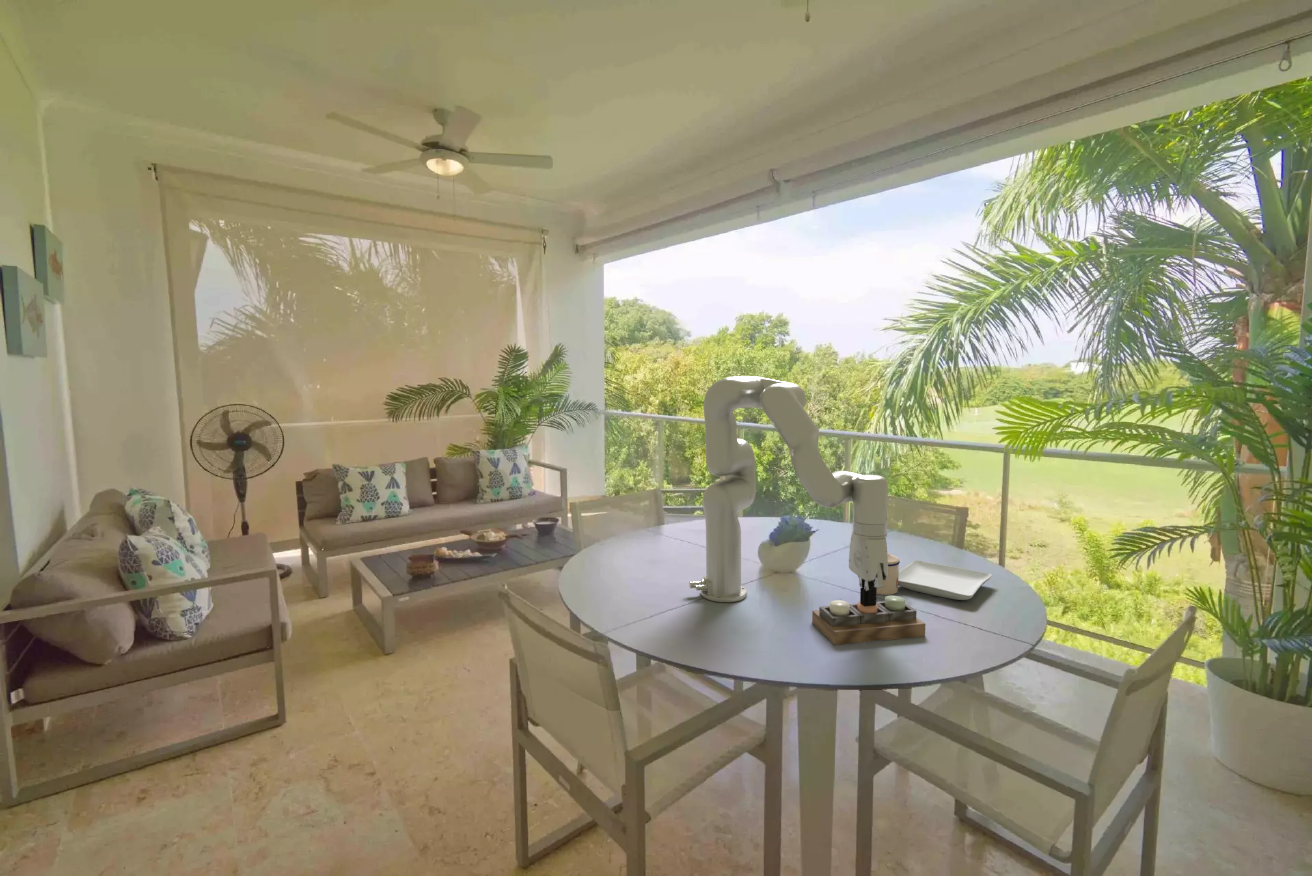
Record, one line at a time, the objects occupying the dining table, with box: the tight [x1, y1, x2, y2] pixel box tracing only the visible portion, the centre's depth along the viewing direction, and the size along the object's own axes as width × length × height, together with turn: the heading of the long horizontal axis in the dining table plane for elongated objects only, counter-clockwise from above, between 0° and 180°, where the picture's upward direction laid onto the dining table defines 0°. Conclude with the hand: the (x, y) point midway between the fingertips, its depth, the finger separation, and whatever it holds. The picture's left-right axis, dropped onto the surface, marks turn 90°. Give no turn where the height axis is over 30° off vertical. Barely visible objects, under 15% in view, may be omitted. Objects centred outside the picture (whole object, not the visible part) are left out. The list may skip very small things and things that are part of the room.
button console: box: [811, 600, 926, 646], centre depth 138 cm, size 22×12×5 cm, turn 99°
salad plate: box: [898, 560, 993, 601], centre depth 164 cm, size 21×21×3 cm
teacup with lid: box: [876, 551, 901, 596], centre depth 164 cm, size 12×9×12 cm
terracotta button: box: [857, 601, 878, 614], centre depth 138 cm, size 4×4×2 cm
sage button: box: [884, 595, 906, 612], centre depth 139 cm, size 4×4×2 cm
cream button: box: [829, 599, 851, 616], centre depth 136 cm, size 4×4×2 cm
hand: (868, 604), depth 137 cm, fingers closed
